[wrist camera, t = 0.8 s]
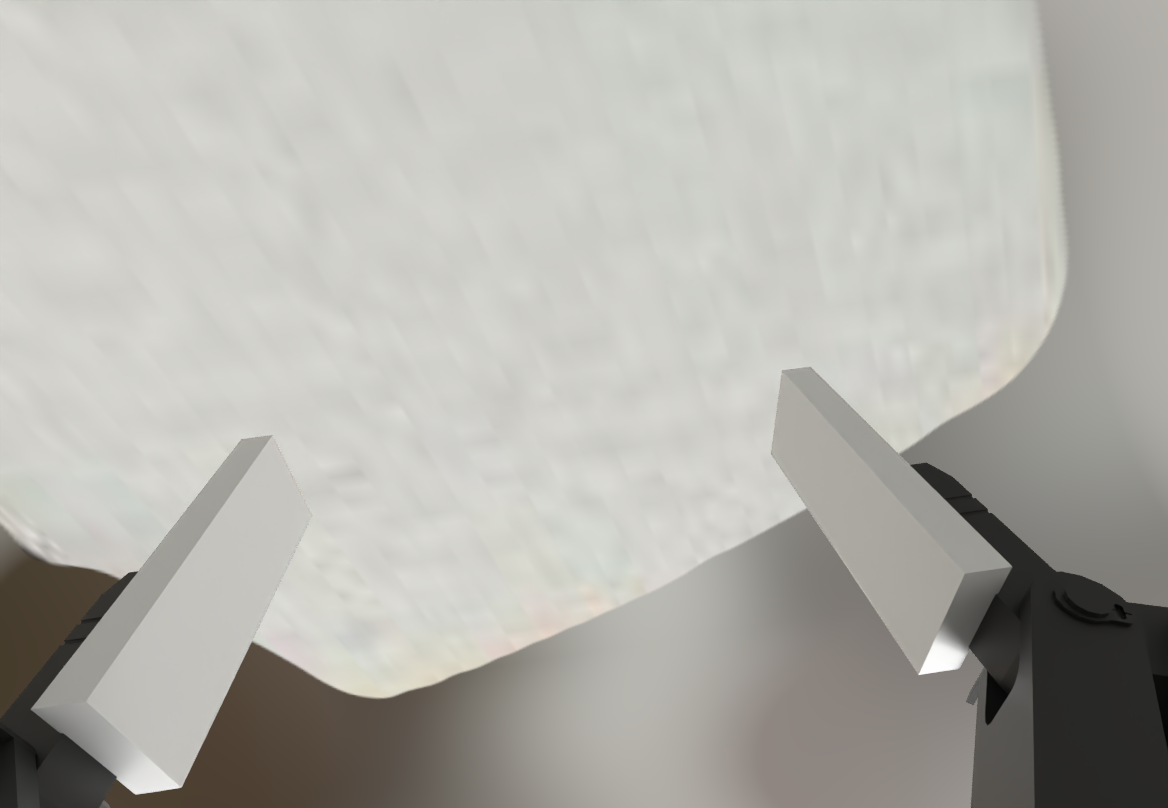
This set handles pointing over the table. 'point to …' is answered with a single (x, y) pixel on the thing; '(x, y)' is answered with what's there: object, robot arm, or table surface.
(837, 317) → the table surface
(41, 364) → the table surface
